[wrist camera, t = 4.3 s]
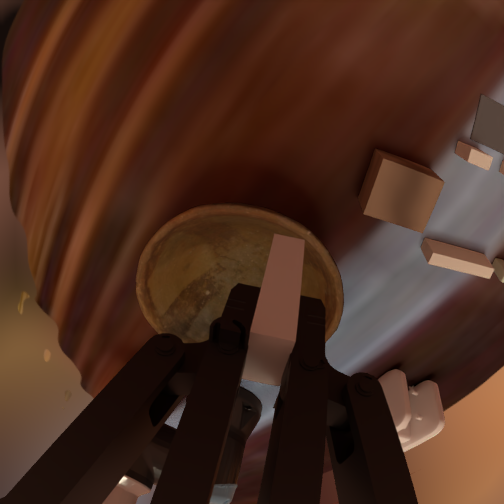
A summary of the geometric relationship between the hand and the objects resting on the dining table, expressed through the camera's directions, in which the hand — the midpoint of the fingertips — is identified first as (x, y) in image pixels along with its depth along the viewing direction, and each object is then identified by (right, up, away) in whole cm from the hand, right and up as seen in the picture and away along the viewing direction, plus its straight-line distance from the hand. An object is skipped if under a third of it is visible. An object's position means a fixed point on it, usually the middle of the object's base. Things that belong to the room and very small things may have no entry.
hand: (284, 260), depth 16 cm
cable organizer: (+24, -25, +34) cm, 48 cm away
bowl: (-2, 0, +25) cm, 25 cm away
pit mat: (+26, +14, +10) cm, 31 cm away
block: (+14, +8, +16) cm, 23 cm away
